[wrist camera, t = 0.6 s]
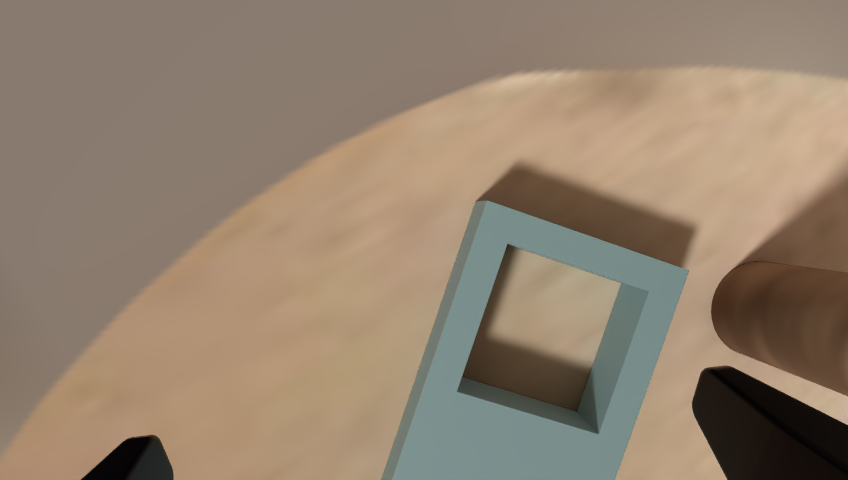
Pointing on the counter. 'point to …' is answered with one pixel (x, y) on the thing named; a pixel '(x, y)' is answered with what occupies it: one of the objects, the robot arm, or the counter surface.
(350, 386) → the counter surface
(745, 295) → the pepper mill
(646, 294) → the socket stand
